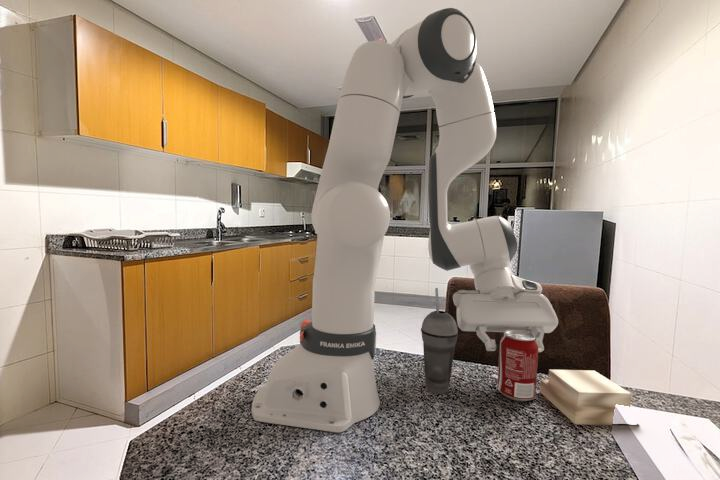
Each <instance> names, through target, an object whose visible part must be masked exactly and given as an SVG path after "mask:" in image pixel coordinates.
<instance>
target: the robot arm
mask: <svg viewBox="0 0 720 480" xmlns="http://www.w3.org/2000/svg"><path fill="white" fill-rule="evenodd" d="M477 46H478V44H477V36H476V31H475V29H474V26H473V24H472V22H471V21H470V18H468V17H467V16H466V15H465V14H464V13H463V12H462V11H461V10H459V9H458V8H454V7H447V8H442V9H440V10H437V11H435V12H432V13H430V14H428V15H427V16H426V17H425V18H424V19H422V20H421V21H420V22H417V23H416V24H414V25H413V26H411V27H410V28H408V29H406V30H404V31H403V32H401V34H400V35H399V36H397V37H396V39H394V41H392V42H391V43H388V42H385V41H382V40H371V41H366V42H364V43H362V44H361V45H360V46H358V47H357V49H355V52H354V53H353V54H352V57H351V58H350V62H349V63H348V67H347V69H346V72H345V75H344V78H343V79H342V80H343V82H342V84H341V88H340V92H339V95H338V101H337V105H336V110H335V114H334V118H333V122H332V123H333V124H332V128H331V134H330V138H329V143H328V147H327V151H326V154H325V157H324V161H323V165H322V169H321V173H320V176H319V180H318V184H317V187H316V193H315V196H314V201H313V205H312V209H311V217H310V218H311V225H312V227H313V229H314V232H315V233H316V236H317V238H316V239H317V240H316V251H315V260H314V270H313V271H314V272H313V277H312V300H311V305H312V306H311V320H310V319H309V318H308V319H306V318H305V319H304V320H303V321H302V322H301V323H300V330H299V344H298V345H297V346H295V347H294V348H292V349H290V351H289V350H288V352H287V353H285V354H283V356H281V357H280V358H278V360H277V361H276V362H275V363H274V364H273V366H272V368H271V369H270V371H269V374H268V377H267V380H266V382H265V383H263V384H262V386H261V387H260V388H259V389H258V390H257V392H256V393H255V395H254V397H253V400H252V403H251V410H250V411H251V412H250V413H251V415H252V418H253V420H254V421H256V422H260V423H262V422H263V423H268V424H273V425H281V426H290V427H297V428H304V429H311V430H317V431H324V432H330V433H342V432H345V431H347V430H348V429H349V428H351V426H352V425H354V424H355V423H358V422H360V421H364V420H366V419H367V418H369V417H371V416H373V415H374V414H375V413H376V412H377V411H378V409H379V407H380V405H381V401H380V400H381V399H380V396H379V393H378V388H377V381H376V374H375V365H374V363H375V361H374V359H375V355H376V349H377V347H376V346H377V331H376V330H377V329H376V325H375V323H374V320H375V319H374V318H375V317H374V316H375V297H376V295H375V291H376V282H377V281H376V280H377V274H378V269H379V263H380V259H381V255H382V250H383V249H382V248H383V245H384V237H385V235H386V233H387V231H388V229H389V226H390V222H391V210H390V206H389V204H388V202H387V200H386V198H385V197H384V196H383V194H382V193H381V192H379V191H378V189H379V187H380V183H381V180H382V178H383V174H384V173H385V170H386V168H387V166H388V165H389V162H390V160H391V157H392V151H393V148H394V141H395V139H396V133H397V127H398V124H399V118H400V114H401V109H402V105H403V100H404V99H408V98H411V97H413V96H415V95H417V94H420V93H421V94H422V93H424V92H427V94H428V95H429V96H430V98H432V101H433V102H434V105H435V112H436V113H435V114H436V121H437V125H438V126H437V127H438V133H439V137H438V139H439V140H438V145H437V148H436V151H435V152H434V153H433V154H432V155H430V158H429V163H428V207H429V208H428V209H429V210H428V211H429V213H428V214H429V216H428V217H429V235H428V242H427V243H428V245H427V246H428V247H427V249H428V254H429V257H430V260H431V261H432V264H434V266H437V267H438V268H440V269H442V270H444V271H447V272H448V271H451V270H455V269H459V268H462V267H466V266H469V267H470V270H471V273H472V274H473V277H474V278H473V283H474V288H475V289H471V290H469V289H468V290H466V289H459V290H457V291H456V292H454V293H453V295H452V301H453V305H454V306H455V307H456V325H457V328H459V329H460V330H461V331H462V332H476V336H477V337H478V338H479V340H481V342H482V343H483V344H484V345H485V350H486V351H487V352H495V351H496V350H497V344H496V339H491V337H490V336H489V335H488V334H487V333H488V332H489V333H491V332H493V333H504V331H507V330H519V331H524V332H528V333H531V334H533V335H534V336H535V341H536V343H537V345H538V353H542V352H543V351H544V350H545V346H544V343H543V340H544V336H545V334H550V333H552V332H554V330H555V329H556V328H557V327H558V325H559V319H558V316H557V313H556V312H555V309H554V308H553V307H554V306H553V305H552V304H551V302H550V300H549V299H548V297H547V296H546V295H544V294H542V292H543V287H542V285H541V284H540V283H538V282H535V281H531V280H528V279H524V278H521V277H519V276H516V275H515V274H514V273H513V270H511V267H510V262H511V261H512V260H513V259H514V257H515V255H516V253H517V251H518V241H517V238H516V235H515V233H514V230H513V227H512V225H511V223H510V222H509V221H508V220H507V219H505V218H504V217H503V216H499V215H493V216H487V217H482V218H476V219H474V220H469V221H464V222H459V223H454V224H452V223H449V221H448V190H449V187H450V185H451V183H452V182H453V181H454V180H455V179H456V178H457V177H458V176H459V175H460V174H463V172H465V171H467V170H468V169H470V168H471V167H473V166H474V165H475V164H477V163H479V162H480V161H481V160H483V158H485V156H486V155H487V154H488V153H490V151H491V150H492V149H493V147H494V145H495V141H496V139H497V120H496V114H495V112H494V111H495V108H494V103H493V99H492V95H491V94H492V93H491V91H490V87H489V85H488V81H487V78H486V75H485V72H484V70H483V68H482V66H481V65H480V64H479V63H478V62H477V57H478V56H477V52H478V51H477V50H478V47H477ZM486 332H487V333H486Z"/></svg>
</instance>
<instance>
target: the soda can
mask: <svg viewBox="0 0 720 480" xmlns="http://www.w3.org/2000/svg"><path fill="white" fill-rule="evenodd" d="M535 340H536V337H535V336H534V335H533V334H532V333H528V332H524V331H519V330H507V331H504V332H503V336H502V337H501V338H500V340H499V350H498V351H499V353H498V354H499V355H498V370H497V371H498V372H497V387H496V388H497V390H498V392H499V393H500V394H502V395H503V396H504V397H505V398H508V399H510V400H512V401H516V402H529V401H532V400H534V399H535V398H536V393H537V392H536V391H537V377H538V376H537V375H538V374H537V373H538V360H539V352H538V345H537V343H536V341H535Z"/></svg>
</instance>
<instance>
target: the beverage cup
mask: <svg viewBox="0 0 720 480" xmlns="http://www.w3.org/2000/svg"><path fill="white" fill-rule="evenodd" d="M434 292H435V310H433V311H431V312H429V313H428V314H427V315H426V316H425V317H424V319H423V320H422V323H421V328H420V332H421V340H422V342H423V343H422V345H423V346H422V347H423V348H422V349H423V365H424V366H423V368H424V370H423V371H424V382H425V384H424V385H425V389H426V390H427V392H430V393H432V394H438V395H439V394H442V395H443V394H446V393H448V392H449V387H450V383H451V375H452V370H453V362H454V355H455V348H456V344H457V340H458V335H459V332H458V331H459V330H458V324H457V321H456V320H455V319H454V317H453V316H452V315H451V314H450V313H448V312H446V311H444V310H440V307H439V306H440V305H439V303H440V302H439V288H438V287H435V289H434Z"/></svg>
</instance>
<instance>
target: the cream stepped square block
mask: <svg viewBox="0 0 720 480" xmlns="http://www.w3.org/2000/svg"><path fill="white" fill-rule="evenodd" d="M539 393H540V394H542V395H543V396H544V397H545V399H547V400H548V401H549V402H551V404H552V405H554V407H556V408H557V409H558V410H559V411H560V412H561V414H563V415H564V416H566V417H567V418H568V419H569V420H570V421H571V422H572V423H573V424H574V425H597V426H613V425H612V424H613V416H614V409H615V405H616V404H618V405H624V406H629V407H635V406H634V405H632V404H631V403H632V402H631V399H632V393H631V392H630V391H628V390H627V389H625V388H623V387H621V386H620V385H619V384H617V383H615V382H613V381H612V380H610V379H609V378H607V377H606V376H604V375H603V374H600V372H597V371H596V370H590V369H589V370H588V369H587V370H585V369H584V370H583V369H550V368H549V369H548V379H540V381H539Z"/></svg>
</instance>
